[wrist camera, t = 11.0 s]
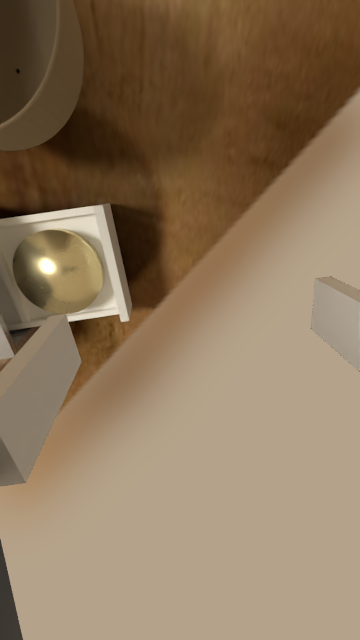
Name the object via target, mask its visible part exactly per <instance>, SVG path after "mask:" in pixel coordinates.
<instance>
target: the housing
mask: <svg viewBox="0 0 360 640" xmlns="http://www.w3.org/2000/svg"><path fill="white" fill-rule="evenodd" d="M38 329H39V326H37V327H30V328H23V329H17V330H10V331H8V329H7V326H6V324H5V322H4V320H3V318H2V315H1V313H0V359H7V358H13V357H14V356H15V355H16V354H17V353H18V352H19V350H20V349H21V348H22V347H23V346H24V345H25V344H26V342H27V341H28V340H29V339H30V338H31V337H32V336H33V335H34V333H35V332H36V331H37V330H38Z"/></svg>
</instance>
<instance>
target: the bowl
mask: <svg viewBox="0 0 360 640" xmlns="http://www.w3.org/2000/svg"><path fill="white" fill-rule="evenodd" d="M83 75H84V48H83V39H82V33H81V27H80V23H79V19H78V15H77V12H76V9H75V6H74V3H73V0H0V150H3V151H16V150H24V149H29V148H32V147H35V146H38V145H40V144H42V143H44V142H46V141H47V140H49V139H50V138H52V137H53V136H54V135H55V134H57V133H58V132H59V131H60V130H61V128H62V127H63V126H64V125H65V124H66V122H67V121H68V120H69V118H70V116H71V114H72V113H73V111H74V109H75V106H76V104H77V101H78V98H79V95H80V91H81V87H82V82H83Z"/></svg>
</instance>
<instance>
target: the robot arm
mask: <svg viewBox="0 0 360 640" xmlns="http://www.w3.org/2000/svg"><path fill="white" fill-rule="evenodd" d="M311 329H312V330H313V331H314V332H315V333H316V334H317V335H318V336H320V337H321V338H322V339H323V340H324V341H325V342H327V343H328V344H329V345H330V346H331V347H332V348H333V349H334V350H335V351H337V352H338V353H339V354H340V355H341V356H342V357H343V358H345V359H346V360H347V361H348V362H349V363H350V364H351V365H353V366H354V367H355V368H356V369H357V370H358V371H359V372H360V290H358V289H356V288H354V287H352V286H350V285H348V284H345V283H343V282H341V281H339V280H337V279H335V278H333V277H324V278H317V279H315V289H314V300H313V311H312V322H311ZM80 364H81V359H80V355H79V352H78V349H77V346H76V343H75V340H74V337H73V334H72V331H71V328H70V325H69V322H68V319H67V316H66V314H61V315H54V316H50V317H49V318H48V319H47V320H46V321H45V322H44V323H43V324H42V326H41V327H40V328H39V329H38V330H37V331H36V332H35V333H34V335H33V336H32V337H31V338H30V339H29V340H28V341H27V342H26V344H25V345H24V346H23V347H22V348H21V349H20V350H19V352H18V353H17V354H16V355H15V356H14V357H13V358H12V359H11V361H10V362H9V363H8V364H7V365H6V366H5V367H4V368H3V370H2V371H1V372H0V486H8V485H14V484H21V483H26V482H27V479H28V477H29V475H30V473H31V471H32V469H33V466H34V464H35V462H36V460H37V458H38V455H39V453H40V451H41V449H42V447H43V445H44V442H45V440H46V438H47V436H48V434H49V432H50V429H51V427H52V425H53V423H54V421H55V418H56V416H57V414H58V412H59V410H60V408H61V405H62V403H63V401H64V399H65V397H66V394H67V392H68V390H69V388H70V386H71V383H72V381H73V379H74V377H75V375H76V373H77V370H78V368H79V366H80ZM0 640H23V638H22V634H21V629H20V625H19V620H18V616H17V612H16V607H15V602H14V598H13V594H12V589H11V585H10V580H9V576H8V571H7V567H6V562H5V558H4V553H3V549H2V545H1V540H0Z"/></svg>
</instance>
